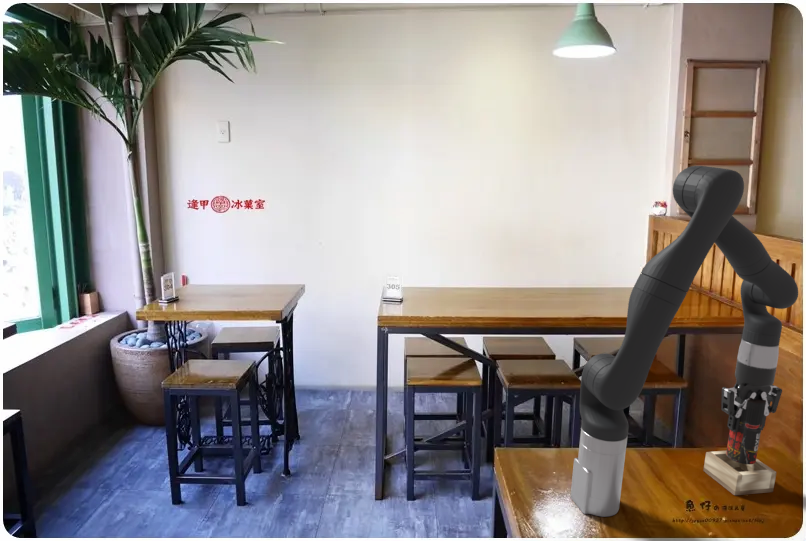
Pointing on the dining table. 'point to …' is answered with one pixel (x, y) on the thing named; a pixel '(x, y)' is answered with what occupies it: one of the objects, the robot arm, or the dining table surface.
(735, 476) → the white wooden box
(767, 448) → the dining table surface
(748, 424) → the deodorant
